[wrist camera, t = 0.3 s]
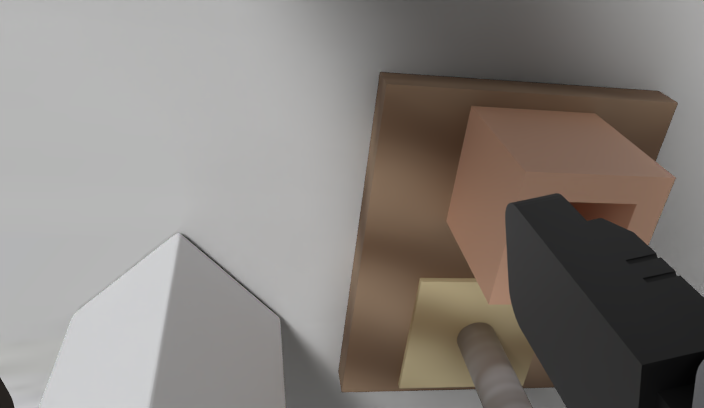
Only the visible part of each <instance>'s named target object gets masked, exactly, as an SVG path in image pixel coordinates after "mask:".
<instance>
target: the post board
mask: <svg viewBox="0 0 704 408" xmlns="http://www.w3.org/2000/svg"><path fill="white" fill-rule="evenodd" d="M677 104H678V103H677V102H676V101H674V100H672V99H671V98H669V97H668V96H666V95H664V94H663V93H661V92H660V91H651V90H636V89H621V88H606V87H592V86H577V85H562V84H548V83H533V82H518V81H504V80H489V79H474V78H460V77H445V76H430V75H416V74H401V73H386V72H380V75H379V83H378V90H377V97H376V104H375V111H374V119H373V126H372V133H371V140H370V147H369V155H368V162H367V169H366V176H365V183H364V191H363V198H362V205H361V212H360V219H359V227H358V234H357V241H356V248H355V255H354V263H353V270H352V277H351V284H350V291H349V299H348V306H347V313H346V320H345V327H344V335H343V342H342V349H341V356H340V363H339V371H338V373H339V379H340V385H341V391H342V392H376V391H419V390H462V389H476V391H477V393H478V395H479V398H480V400H481V403H482V405H483V408H533V407H532V405H531V403H530V401H529V399H528V397H527V395H526V393H525V391H524V389H523V388H548V387H554V385H553V383H552V381H551V380H550V378H549V376H548V375H547V373H546V371H545V370H544V368H543V366H542V364H541V363H540V361H539V359H538V358H537V356H536V354H535V353H534V351H533V349H532V348H531V346H530V344H529V342H528V341H527V339H526V337H525V336H524V334H523V332H522V331H521V329H520V327H519V325H518V322H517V320H516V317H515V314H514V311H513V308H512V305H489V304H488V302H487V300H486V298H485V296H484V294H483V292H482V290H481V288H480V286H479V285H478V283H477V281H476V279H475V277H474V275H473V273H472V271H471V269H470V267H469V265H468V263H467V261H466V259H465V257H464V255H463V253H462V251H461V249H460V247H459V245H458V243H457V241H456V240H455V238H454V236H453V234H452V232H451V230H450V228H449V226H448V224H447V222H446V220H447V215H448V211H449V206H450V202H451V197H452V192H453V188H454V183H455V179H456V174H457V169H458V165H459V160H460V156H461V151H462V146H463V142H464V137H465V133H466V128H467V123H468V119H469V114H470V110H471V106H481V107H498V108H514V109H531V110H548V111H564V112H581V113H595V114H597V115H598V116H599V117H600V118H602V119H603V120H604V121H605V122H607V123H608V124H609V125H610V126H612V127H613V128H614V129H615V130H617V131H618V132H619V133H620V134H622V135H623V136H624V137H625V138H627V139H628V140H629V141H630V142H632V143H633V144H634V145H635V146H637V147H638V148H639V149H640V150H642V151H643V152H644V153H645V154H647V155H648V156H649V157H650V158H652V159H653V160H654V161H656V159H657V156H658V153H659V151H660V148H661V146H662V143H663V141H664V138H665V135H666V133H667V130H668V128H669V125H670V122H671V120H672V117H673V115H674V112H675V109H676V107H677Z"/></svg>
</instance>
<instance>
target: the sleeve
mask: <svg viewBox="0 0 704 408" xmlns="http://www.w3.org/2000/svg"><path fill="white" fill-rule="evenodd" d="M675 179H676V178H675V177H674V176H673V175H672V174H670V173H669V172H668V171H667V170H665V169H664V168H663V167H662V166H660V165H659V164H658V163H657V162H655V161H654V160H653V159H652V158H650V157H649V156H648V155H647V154H645V153H644V152H643V151H642V150H640V149H639V148H638V147H637V146H635V145H634V144H633V143H632V142H630V141H629V140H628V139H627V138H625V137H624V136H623V135H622V134H620V133H619V132H618V131H617V130H615V129H614V128H613V127H612V126H610V125H609V124H608V123H607V122H605V121H604V120H603V119H602V118H600V117H599V116H598V115H597V114H595V113H581V112H564V111H548V110H531V109H514V108H498V107H481V106H471V110H470V114H469V119H468V123H467V128H466V133H465V137H464V142H463V146H462V151H461V156H460V160H459V165H458V169H457V174H456V179H455V183H454V188H453V192H452V197H451V202H450V206H449V211H448V215H447V220H446V222H447V224H448V226H449V228H450V230H451V232H452V234H453V236H454V238H455V240H456V241H457V243H458V245H459V247H460V249H461V251H462V253H463V255H464V257H465V259H466V261H467V263H468V265H469V267H470V269H471V271H472V273H473V275H474V277H475V279H476V281H477V283H478V285H479V286H480V288H481V290H482V292H483V294H484V296H485V298H486V300H487V302H488V304H489V305H512V304H511V299H510V294H509V283H508V264H507V245H506V227H505V211H506V207H507V205H508V204H509V203H512V202H517V201H522V200H527V199H531V198H536V197H541V196H545V195H550V194H555V193H559V194H561V195H562V196H563V197H564V198H565V199H566V200H567V201H568V202H569V203H570V204H571V205H572V206H573V207H574V208H575V209H576V210H577V211H578V212H579V213H580V214H581V215H582V216H583V217H584V218H585V219H586V220H587V221H588V220H593V219H598V218H603V219H605V220H607V221H610V222H612V223H614V224H616V225H619V226H621V227H623V228H625V229H627V230H630V231H632V232H634V233H635V234H636V235H637V236H638V237H639V238H640V239H642V240H643V241H644V242H645V243H646V244H647V245H649V242H650V240H651V237H652V235H653V233H654V230H655V228H656V225H657V223H658V220H659V218H660V215H661V213H662V210H663V208H664V206H665V203H666V201H667V198H668V196H669V193H670V191H671V188H672V186H673V184H674V181H675Z"/></svg>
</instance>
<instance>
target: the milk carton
mask: <svg viewBox="0 0 704 408" xmlns="http://www.w3.org/2000/svg"><path fill="white" fill-rule="evenodd" d="M39 408H286V401H285V385H284V369H283V353H282V337H281V322H280V318H279V317H278V316H277V315H276V314H275V313H273V312H272V311H271V310H270V309H269V308H267V307H266V306H265V305H264V304H263V303H262V302H260V301H259V300H258V299H257V298H256V297H255V296H253V295H252V294H251V293H250V292H249V291H247V290H246V289H245V288H244V287H243V286H242V285H240V284H239V283H238V282H237V281H236V280H235V279H233V278H232V277H231V276H230V275H229V274H227V273H226V272H225V271H224V270H223V269H222V268H220V267H219V266H218V265H217V264H216V263H215V262H213V261H212V260H211V259H210V258H209V257H207V256H206V255H205V254H204V253H203V252H202V251H200V250H199V249H198V248H197V247H196V246H195V245H193V244H192V243H191V242H190V241H189V240H187V239H186V238H185V237H184V236H183V235H182V234H180V233H177V234H175V235H174V236H172V237H171V238H170V239H168V240H167V241H166V242H164V243H163V244H162V245H161V246H159V247H158V248H157V249H156V250H154V251H153V252H152V253H150V254H149V255H148V256H147V257H145V258H144V259H143V260H142V261H140V262H139V263H138V264H136V265H135V266H134V267H133V268H131V269H130V270H129V271H128V272H126V273H125V274H124V275H122V276H121V277H120V278H119V279H117V280H116V281H115V282H114V283H112V284H111V285H110V286H108V287H107V288H106V289H105V290H103V291H102V292H101V293H100V294H98V295H97V296H96V297H95V298H93V299H92V300H91V301H89V302H88V303H87V304H86V305H84V306H83V307H82V308H81V309H79V310H78V311H77V312H76V313H75V314H74V315H73V317H72V319H71V322H70V324H69V327H68V330H67V332H66V335H65V338H64V340H63V343H62V346H61V349H60V351H59V354H58V357H57V359H56V362H55V365H54V367H53V370H52V373H51V375H50V378H49V381H48V384H47V386H46V389H45V392H44V394H43V397H42V400H41V402H40V405H39Z"/></svg>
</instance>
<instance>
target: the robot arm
mask: <svg viewBox="0 0 704 408" xmlns="http://www.w3.org/2000/svg"><path fill="white" fill-rule="evenodd" d="M505 227H506V245H507V264H508V283H509V294H510V299H511V304H512V308H513V311H514V314H515V317H516V320H517V322H518V325H519V327H520V329H521V331H522V332H523V334H524V336H525V337H526V339H527V341H528V342H529V344H530V346H531V348H532V349H533V351H534V353H535V354H536V356H537V358H538V359H539V361H540V363H541V364H542V366H543V368H544V370H545V371H546V373H547V375H548V376H549V378H550V380H551V381H552V383H553V385H554V387H555V388H556V390H557V392H558V393H559V395H560V397H561V398H562V400H563V402H564V403H565V405H566V407H567V408H704V297H703V296H701V295H700V294H699V293H698V292H697V291H696V290H695V289H694V288H693V287H692V286H691V285H690V284H689V283H688V282H686V281H685V280H684V279H683V278H682V277H681V276H676V273H675V270H674V269H673V268H671V267H670V266H669V265H668V264H667V263H666V262H665V261H664V260H663V259H662V258H657V255H656V253H655V252H654V251H653V250H652V249H651V248H650V247H649V246H648V245H647V244H646V243H645V242H644V241H643V240H642V239H640V238H639V237H638V236H637V235H636V234H635V233H634V232H632V231H630V230H627V229H625V228H623V227H621V226H619V225H616V224H614V223H612V222H610V221H607V220H605V219H603V218H598V219H593V220H588V221H587V220H586V219H585V218H584V217H583V216H582V215H581V214H580V213H579V212H578V211H577V210H576V209H575V208H574V207H573V206H572V205H571V204H570V203H569V202H568V201H567V200H566V199H565V198H564V197H563V196H562V195H561V194H559V193H555V194H550V195H545V196H541V197H536V198H531V199H527V200H522V201H517V202H512V203H509V204H508V205H507V207H506V211H505ZM0 408H14V404H13V401H12V398H11V396H10V394H9V392H8V390H7V389H6V387H5V385H4V383H3V382H2V380H1V378H0Z"/></svg>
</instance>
